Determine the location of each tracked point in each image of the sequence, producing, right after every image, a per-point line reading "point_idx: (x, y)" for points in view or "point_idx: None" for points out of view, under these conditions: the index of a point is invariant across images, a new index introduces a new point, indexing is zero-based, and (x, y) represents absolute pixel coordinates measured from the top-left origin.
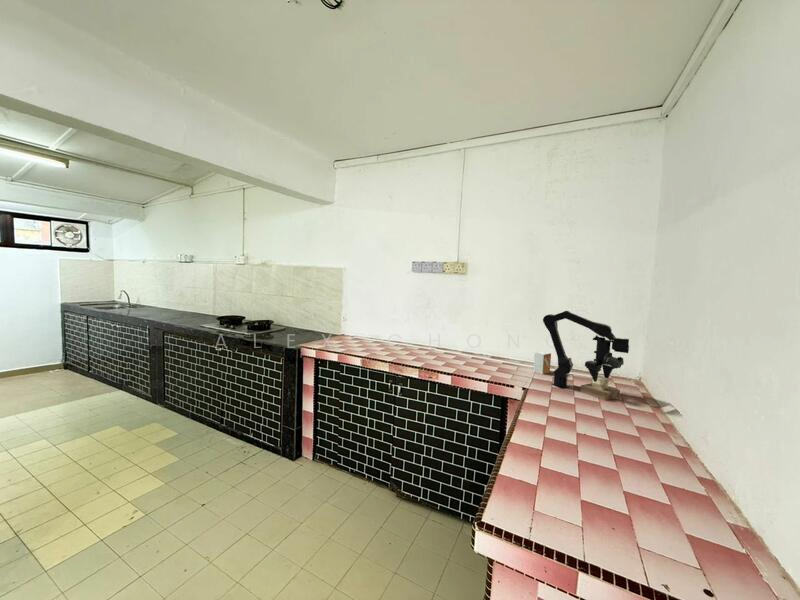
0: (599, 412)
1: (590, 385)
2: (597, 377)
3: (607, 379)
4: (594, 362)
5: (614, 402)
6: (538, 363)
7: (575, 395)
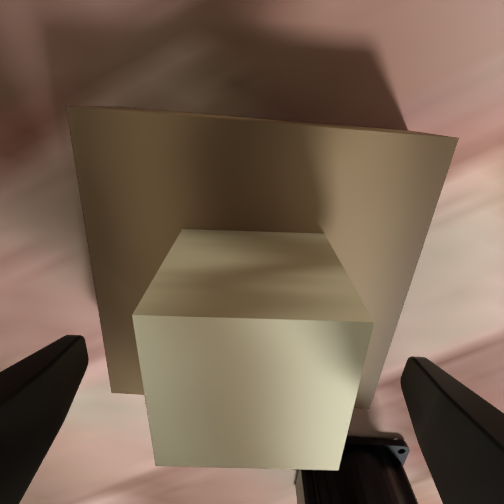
0: None
1: None
2: (473, 421)
3: (188, 308)
4: None
5: (382, 29)
6: None
7: (493, 329)
